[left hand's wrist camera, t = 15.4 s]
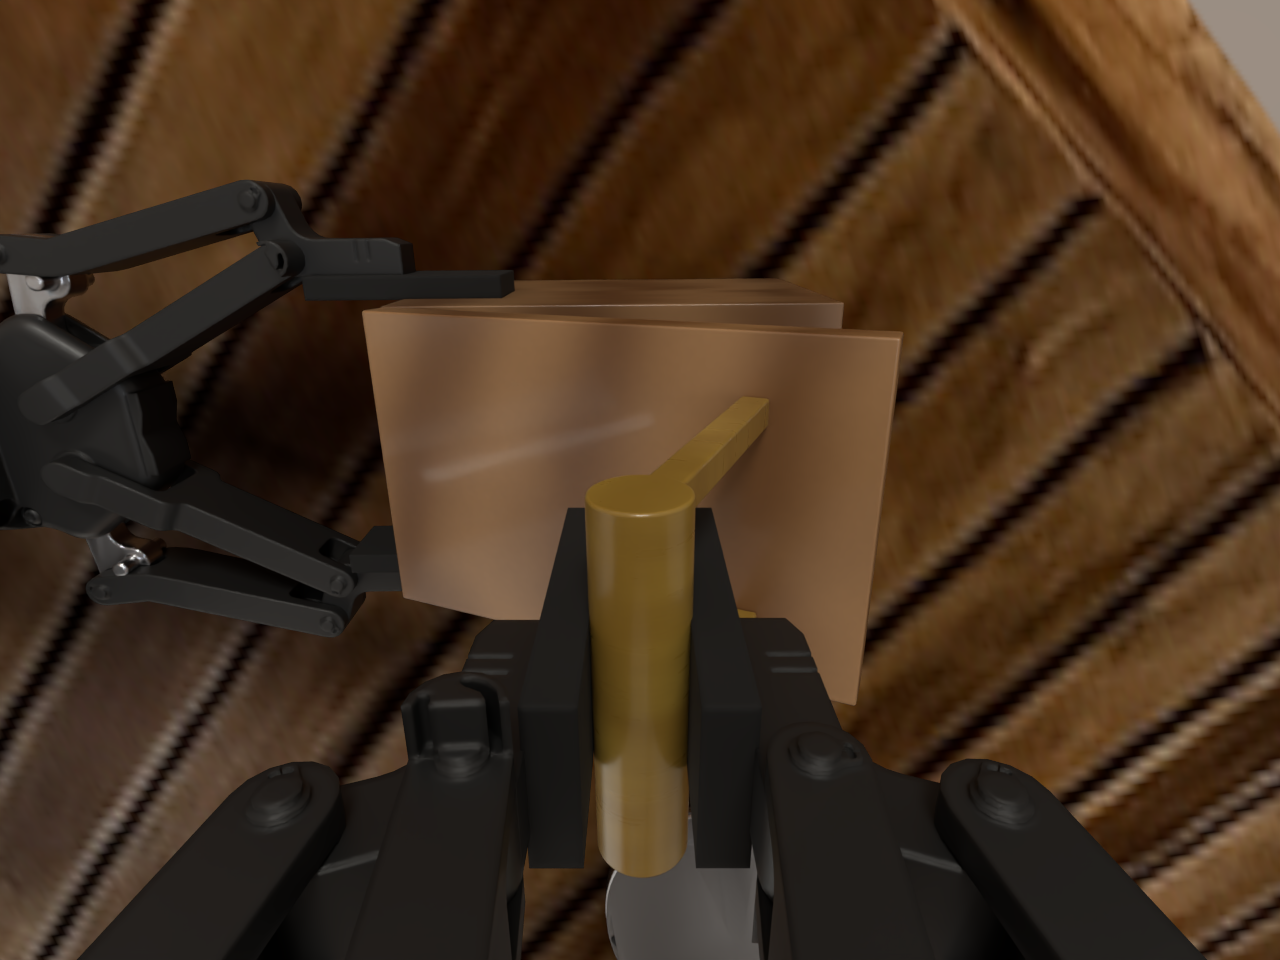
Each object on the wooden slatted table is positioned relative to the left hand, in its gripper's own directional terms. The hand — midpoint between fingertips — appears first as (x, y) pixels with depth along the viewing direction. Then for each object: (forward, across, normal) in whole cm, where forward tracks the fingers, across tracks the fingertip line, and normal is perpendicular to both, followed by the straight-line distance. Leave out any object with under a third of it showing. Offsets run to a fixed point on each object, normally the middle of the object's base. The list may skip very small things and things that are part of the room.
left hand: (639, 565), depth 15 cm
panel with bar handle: (+5, +1, 0) cm, 5 cm away
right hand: (+11, +5, 0) cm, 12 cm away
